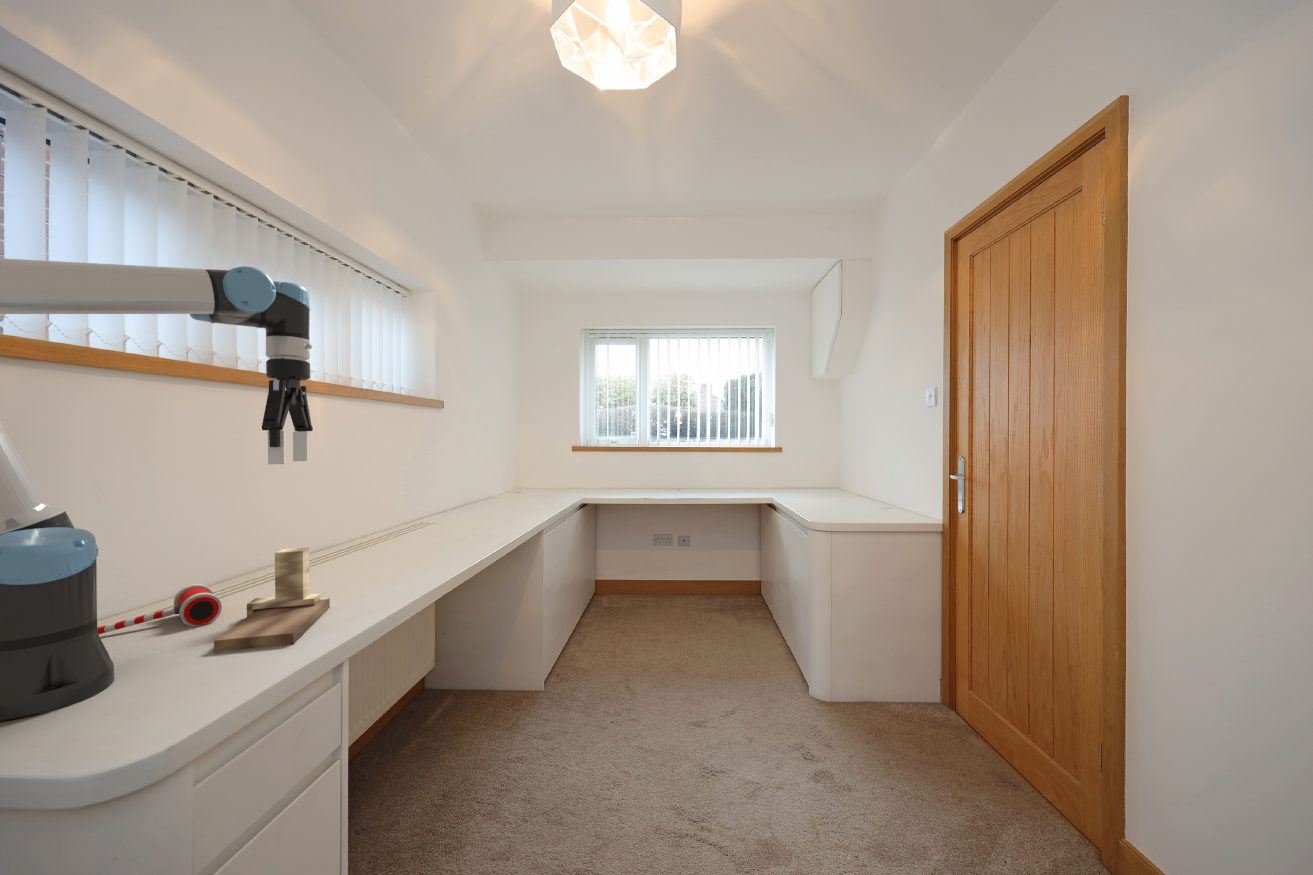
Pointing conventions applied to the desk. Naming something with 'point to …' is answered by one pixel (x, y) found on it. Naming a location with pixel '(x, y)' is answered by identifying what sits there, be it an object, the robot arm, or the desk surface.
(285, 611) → the board
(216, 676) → the desk surface
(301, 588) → the bracket
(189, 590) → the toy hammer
